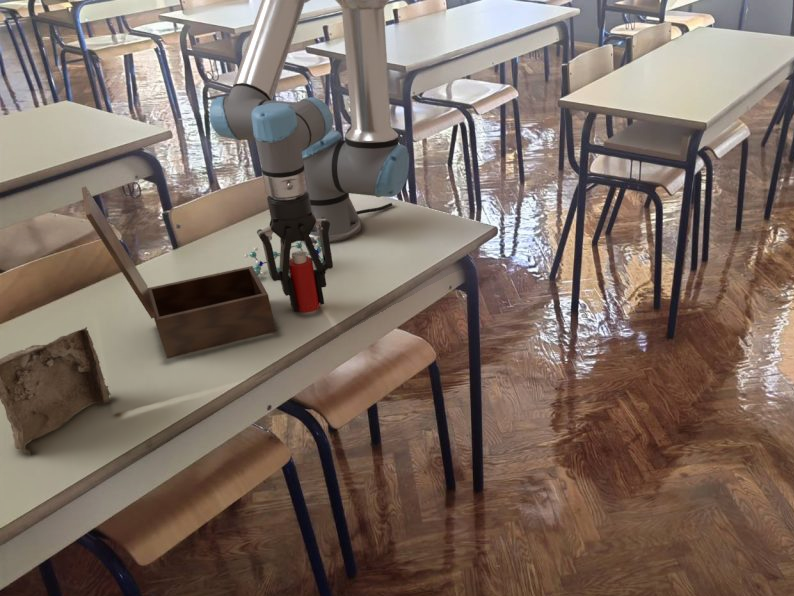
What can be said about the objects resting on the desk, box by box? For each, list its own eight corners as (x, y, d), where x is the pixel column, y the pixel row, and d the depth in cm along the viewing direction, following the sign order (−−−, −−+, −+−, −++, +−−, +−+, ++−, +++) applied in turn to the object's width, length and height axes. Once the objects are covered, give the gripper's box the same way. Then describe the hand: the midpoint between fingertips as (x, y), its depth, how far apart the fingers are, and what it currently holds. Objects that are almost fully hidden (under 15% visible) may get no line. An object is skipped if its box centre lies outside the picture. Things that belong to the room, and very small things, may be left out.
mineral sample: (28, 457, 117) (-12, 376, 108) (11, 450, 118) (-30, 369, 109) (118, 399, 129) (88, 322, 120) (101, 393, 130) (71, 316, 122)
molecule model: (247, 273, 167) (240, 242, 162) (326, 257, 173) (322, 228, 168) (253, 289, 161) (246, 258, 156) (335, 272, 167) (330, 242, 162)
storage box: (261, 305, 155) (252, 265, 150) (276, 335, 145) (268, 294, 140) (158, 328, 148) (145, 288, 142) (168, 362, 138) (154, 320, 133)
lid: (85, 186, 129) (81, 187, 129) (90, 213, 119) (85, 215, 119) (147, 285, 142) (142, 287, 142) (156, 317, 133) (151, 318, 132)
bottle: (316, 302, 156) (307, 246, 148) (323, 312, 152) (313, 255, 145) (294, 308, 154) (283, 251, 147) (300, 318, 151) (289, 260, 143)
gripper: (242, 209, 133) (267, 323, 146) (340, 191, 140) (355, 302, 153) (234, 195, 138) (259, 306, 152) (328, 178, 145) (344, 287, 159)
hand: (307, 304), depth 152 cm, fingers closed on bottle, 5 cm apart
